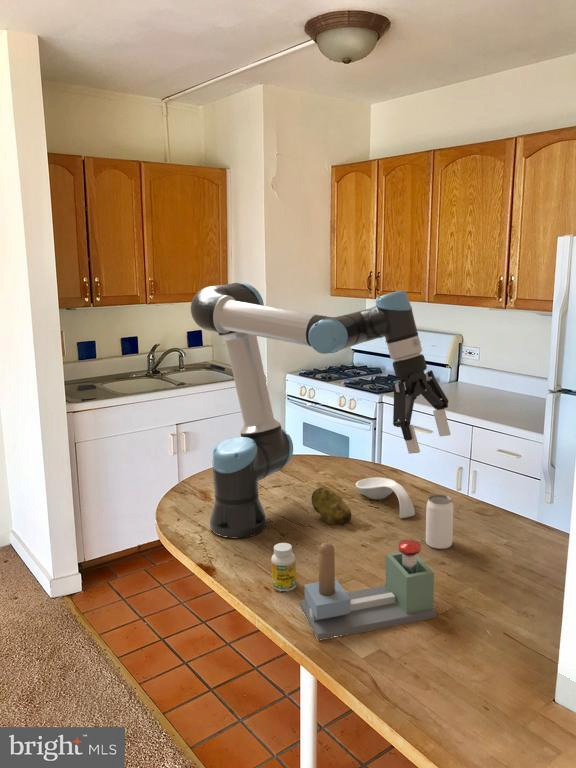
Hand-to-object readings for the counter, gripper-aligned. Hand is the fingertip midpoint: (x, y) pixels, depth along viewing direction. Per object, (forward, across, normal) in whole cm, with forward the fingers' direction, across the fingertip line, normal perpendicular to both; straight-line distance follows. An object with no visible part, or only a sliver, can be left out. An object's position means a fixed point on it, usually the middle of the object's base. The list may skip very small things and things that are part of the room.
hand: (430, 444), depth 149 cm
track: (+26, -33, +3) cm, 42 cm away
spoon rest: (+21, +16, +32) cm, 41 cm away
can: (+27, +3, +7) cm, 28 cm away
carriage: (+23, -40, +6) cm, 46 cm away
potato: (+18, -4, +36) cm, 40 cm away
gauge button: (+23, -24, -3) cm, 34 cm away
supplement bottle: (+20, -36, +22) cm, 47 cm away
